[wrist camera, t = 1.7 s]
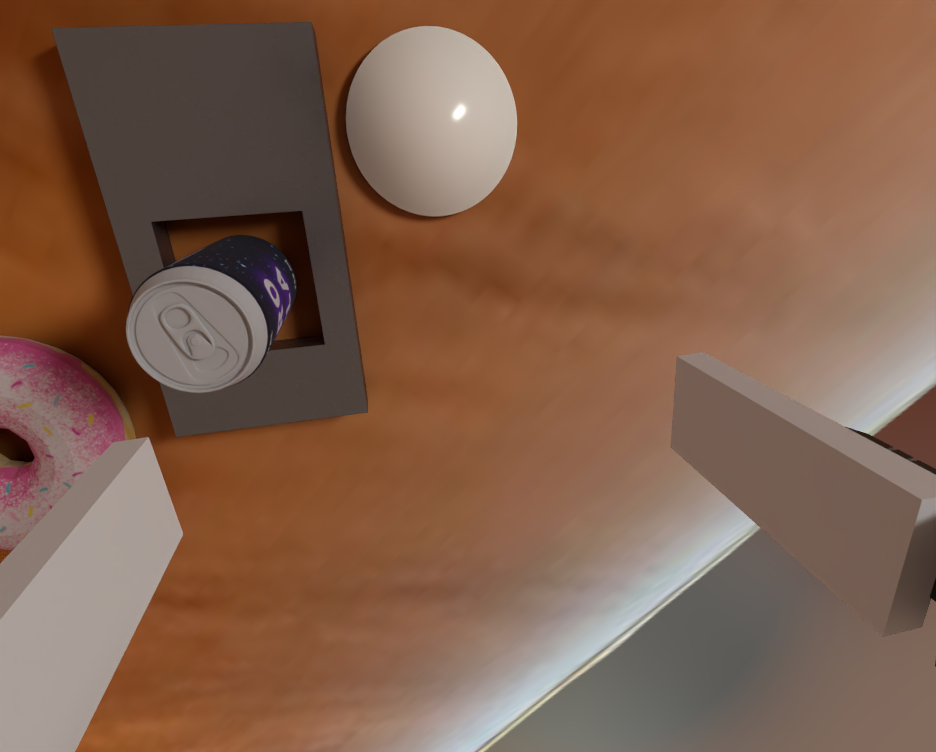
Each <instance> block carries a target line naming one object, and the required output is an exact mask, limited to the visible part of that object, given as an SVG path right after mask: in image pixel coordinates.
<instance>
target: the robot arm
mask: <svg viewBox="0 0 936 752" xmlns="http://www.w3.org/2000/svg"><path fill="white" fill-rule="evenodd" d="M671 448H672V449H673V450H674V451H675V452H677V453H678V454H679V455H680V456H681V457H682V458H683V459H684V460H686V461H687V462H688V463H689V464H690V465H691V466H692V467H693V468H694V469H696V470H697V471H698V472H699V473H700V474H701V475H702V476H703V477H705V478H706V479H707V480H708V481H709V482H710V483H711V484H712V485H713V486H715V487H716V488H717V489H718V490H719V491H720V492H721V493H722V494H724V495H725V496H726V497H727V498H728V499H729V500H730V501H731V502H733V503H734V504H735V505H736V506H737V507H738V508H739V509H740V510H741V511H743V512H744V513H745V514H746V515H747V516H748V517H749V518H750V519H752V520H753V521H754V522H755V523H756V524H757V525H758V526H759V527H760V528H762V529H763V530H764V531H765V532H766V533H767V534H768V535H769V536H771V537H772V538H773V539H774V540H775V541H776V542H777V543H778V544H779V545H781V546H782V547H783V548H784V549H785V550H786V551H787V552H789V553H790V554H791V555H792V556H793V557H794V558H795V559H796V560H797V561H799V562H800V563H801V564H802V565H803V566H804V567H805V568H806V569H807V570H809V571H810V572H811V573H812V574H813V575H814V576H815V577H816V578H818V579H819V580H820V581H821V582H822V583H823V584H824V585H825V586H826V587H828V588H829V589H830V590H831V591H832V592H833V593H835V594H836V595H837V596H838V597H839V598H840V599H841V600H842V601H843V602H844V603H846V604H847V605H848V606H849V607H850V608H851V609H852V610H853V611H854V612H856V613H857V614H858V615H859V616H860V617H861V618H862V619H863V620H865V621H866V622H867V623H868V624H869V625H870V626H871V627H873V628H874V629H875V630H876V631H877V632H878V633H879V634H880V635H881V636H882V637H884V636H888V635H892V634H896V633H900V632H904V631H908V630H912V629H916V628H920V627H922V625H923V622H924V619H925V616H926V613H927V610H928V607H929V604H930V600H931V598H932V599H933V600H934V601H936V469H935V468H932V467H931V466H929V465H927V464H925V463H923V462H921V461H919V460H917V461H914V459H913V457H911V456H910V455H907V454H906V453H904V452H902V451H900V450H894V449H893V447H892V446H890V445H888V444H886V443H884V442H883V441H880V440H879V439H877V438H875V437H873V436H871V435H869V434H866V433H863V432H860V431H857V430H854V429H851V428H847V427H844V426H842V425H840V424H839V423H837V422H835V421H833V420H831V419H829V418H827V417H825V416H823V415H821V414H820V413H818V412H816V411H814V410H812V409H810V408H808V407H806V406H804V405H803V404H801V403H799V402H797V401H795V400H793V399H791V398H789V397H787V396H785V395H784V394H782V393H780V392H778V391H776V390H774V389H772V388H770V387H768V386H767V385H765V384H763V383H761V382H759V381H757V380H755V379H753V378H751V377H750V376H748V375H746V374H744V373H742V372H740V371H738V370H736V369H734V368H732V367H731V366H729V365H727V364H725V363H723V362H721V361H719V360H717V359H715V358H714V357H712V356H710V355H708V354H706V353H704V352H701V353H695V354H688V355H682V356H677V362H676V377H675V391H674V406H673V420H672V435H671ZM182 536H183V532H182V529H181V527H180V524H179V521H178V518H177V515H176V512H175V510H174V507H173V504H172V501H171V498H170V496H169V493H168V490H167V487H166V484H165V482H164V479H163V476H162V473H161V470H160V468H159V465H158V462H157V459H156V456H155V454H154V451H153V448H152V445H151V442H150V439H149V437H145V438H139V439H132V440H125V441H119V442H113V443H112V444H111V445H110V446H109V447H108V448H107V449H106V450H105V451H104V452H103V454H102V455H101V456H100V457H99V458H98V459H97V460H96V461H95V462H94V463H93V464H92V465H91V466H90V468H89V469H88V470H87V471H86V472H85V473H84V474H83V475H82V476H81V477H80V478H79V479H78V480H77V482H76V483H75V484H74V485H73V486H72V487H71V488H70V489H69V490H68V491H67V492H66V493H65V494H64V496H63V497H62V498H61V499H60V500H59V501H58V502H57V503H56V504H55V505H54V506H53V507H52V509H51V510H50V511H49V512H48V513H47V514H46V515H45V516H44V517H43V518H42V519H41V520H40V521H39V523H38V524H37V525H36V526H35V527H34V528H33V529H32V530H31V531H30V532H29V533H28V534H27V535H26V537H25V538H24V539H23V540H22V541H21V542H20V543H19V544H18V545H17V546H16V547H15V548H14V549H13V551H12V552H11V553H10V554H9V555H8V556H7V557H6V558H5V559H4V560H3V561H2V562H1V563H0V752H75V751H76V749H77V747H78V745H79V743H80V741H81V739H82V737H83V735H84V733H85V731H86V729H87V727H88V725H89V723H90V721H91V719H92V717H93V715H94V713H95V711H96V709H97V707H98V705H99V703H100V701H101V699H102V697H103V695H104V692H105V690H106V688H107V686H108V684H109V682H110V680H111V678H112V676H113V674H114V672H115V670H116V668H117V666H118V664H119V662H120V660H121V658H122V656H123V654H124V652H125V650H126V648H127V646H128V644H129V642H130V640H131V638H132V636H133V634H134V632H135V630H136V628H137V626H138V624H139V622H140V620H141V618H142V616H143V614H144V612H145V610H146V608H147V606H148V604H149V602H150V600H151V598H152V596H153V594H154V592H155V590H156V588H157V586H158V584H159V582H160V580H161V578H162V576H163V574H164V572H165V570H166V568H167V566H168V564H169V562H170V560H171V558H172V556H173V554H174V552H175V550H176V548H177V546H178V544H179V542H180V540H181V538H182ZM935 666H936V664H935Z"/></svg>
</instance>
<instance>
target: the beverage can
mask: <svg viewBox="0 0 936 752" xmlns="http://www.w3.org/2000/svg"><path fill="white" fill-rule="evenodd" d="M296 294H297V281H296V276H295V273H294V270H293V268H292V265H291V264H290V262H289V260H288V259H287V258H286V256H285V255H284V254H283V253H282V252H281V251H280V250H279V249H278V248H276V247H275V246H274V245H272V244H271V243H269V242H267V241H265V240H263V239H260V238H257V237H253V236H247V235H236V236H230V237H226V238H223V239H221V240H219V241H217V242H215V243H213V244H211V245H209V246H207V247H205V248H203V249H201V250H199V251H197V252H195V253H193V254H191V255H189V256H187V257H185V258H183V259H181V260H179V261H177V262H175V263H173V264H171V265H169V266H167V267H165V268H163V269H161V270H159V271H157V272H155V273H153V274H152V275H150V276H149V277H148V278H147V279H145V280H144V281H143V282H142V283H141V285H140V286H139V287H138V288H137V290H136V291H135V293H134V295H133V297H132V300H131V302H130V306H129V311H128V316H127V321H126V337H127V342H128V345H129V348H130V350H131V353H132V355H133V357H134V358H135V360H136V361H137V363H138V364H139V365H140V366H141V367H142V369H143V370H144V371H145V372H146V373H148V374H149V375H150V376H151V377H152V378H154V379H155V380H157V381H158V382H160V383H162V384H164V385H166V386H168V387H170V388H173V389H176V390H180V391H185V392H191V393H205V392H212V391H217V390H220V389H223V388H227V387H230V386H233V385H236V384H238V383H240V382H242V381H244V380H245V379H247V378H248V377H250V376H251V375H252V374H253V373H254V372H255V371H256V370H257V369H258V368H259V366H260V365H261V364H262V362H263V360H264V359H265V357H266V355H267V353H268V351H269V349H270V347H271V346H272V344H273V342H274V340H275V338H276V336H277V334H278V332H279V330H280V329H281V327H282V325H283V323H284V321H285V319H286V317H287V315H288V314H289V312H290V310H291V308H292V306H293V304H294V301H295V298H296Z"/></svg>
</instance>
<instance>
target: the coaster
mask: <svg viewBox="0 0 936 752" xmlns="http://www.w3.org/2000/svg"><path fill="white" fill-rule="evenodd" d="M346 129H347V136H348V141H349V145H350V148H351V152H352V155H353V157H354V159H355V162H356V164H357V166H358V168H359V170H360V171H361V173H362V175H363V176H364V178H365V179H366V180H367V182H368V183H369V184H370V185H371V187H372V188H373V189H374V190H375V191H376V192H377V193H378V194H379V195H380V196H382V197H383V198H384V199H386V200H387V201H388V202H390V203H391V204H393V205H395V206H397V207H398V208H400V209H403V210H405V211H408V212H410V213H414V214H418V215H424V216H445V215H452V214H455V213H458V212H462V211H464V210H466V209H468V208H471V207H472V206H474V205H475V204H477V203H479V202H480V201H481V200H483V199H484V198H485V197H486V196H487V195H488V194H489V193H490V192H491V191H492V190H493V189H494V188H495V187H496V186H497V184H498V183H499V182H500V180H501V179H502V177H503V175H504V174H505V172H506V170H507V168H508V166H509V163H510V161H511V158H512V155H513V151H514V148H515V142H516V136H517V115H516V107H515V102H514V97H513V94H512V91H511V88H510V85H509V83H508V81H507V79H506V77H505V75H504V73H503V71H502V70H501V68H500V66H499V65H498V63H497V62H496V61H495V60H494V58H493V57H492V56H491V55H490V54H489V53H488V52H487V51H486V50H485V49H484V48H483V47H482V46H481V45H479V44H478V43H477V42H475V41H474V40H473V39H471V38H469V37H467V36H466V35H464V34H462V33H459V32H457V31H454V30H451V29H447V28H443V27H436V26H421V27H413V28H410V29H406V30H402V31H400V32H398V33H396V34H393V35H391V36H390V37H388V38H387V39H385V40H384V41H382V42H381V43H380V44H378V45H377V46H376V47H375V48H374V49H373V50H372V51H371V52H370V53H369V54H368V56H367V57H366V58H365V59H364V61H363V62H362V64H361V65H360V67H359V68H358V70H357V72H356V75H355V77H354V79H353V81H352V84H351V87H350V91H349V94H348V100H347V106H346Z"/></svg>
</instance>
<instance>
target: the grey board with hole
mask: <svg viewBox="0 0 936 752" xmlns="http://www.w3.org/2000/svg"><path fill="white" fill-rule="evenodd" d="M51 29H52V32H53V35H54V39H55V42H56V45H57V49H58V52H59V55H60V58H61V62H62V65H63V68H64V71H65V75H66V78H67V81H68V85H69V88H70V91H71V94H72V98H73V101H74V104H75V107H76V111H77V114H78V117H79V121H80V124H81V127H82V130H83V134H84V137H85V140H86V143H87V147H88V150H89V153H90V157H91V160H92V163H93V166H94V170H95V173H96V176H97V180H98V183H99V186H100V189H101V193H102V196H103V199H104V202H105V206H106V209H107V212H108V216H109V219H110V222H111V225H112V229H113V232H114V235H115V238H116V242H117V245H118V248H119V252H120V255H121V258H122V261H123V265H124V268H125V271H126V274H127V278H128V281H129V284H130V288H131V291H132V294H133V295H134V293H135V291H136V290H137V288H138V287H139V286H140V285H141V283H142V282H143V281H144V280H145V279H147V278H148V277H149V276H150V275H152V274H153V273H155V272H157V271H159V270H161V269H163V268H165V267H167V266H169V265H171V264H173V263H175V262H176V261H175V258H174V254H173V250H172V247H171V243H170V239H169V235H168V232H167V228H166V224H165V221H168V220H182V219H196V218H209V217H223V216H237V215H251V214H264V213H278V212H292V211H302V212H303V218H304V224H305V230H306V236H307V242H308V248H309V254H310V259H311V265H312V271H313V277H314V283H315V289H316V295H317V301H318V306H319V312H320V318H321V324H322V330H323V336H315V337H306V338H296V339H287V340H278V341H274V342H273V344H272V346H271V347H270V349H269V351H268V353H267V355H266V357H265V359H264V360H263V362H262V364H261V365H260V366H259V368H258V369H257V370H256V371H255V372H254V373H253V374H252V375H251V376H250V377H248V378H247V379H245V380H244V381H242V382H240V383H238V384H236V385H233V386H230V387H227V388H223V389H220V390H217V391H212V392H205V393H191V392H185V391H180V390H176V389H173V388H170V387H168V386H166V385H164V384H162V383H160V382H159V383H160V386H161V389H162V392H163V396H164V399H165V402H166V405H167V409H168V412H169V415H170V419H171V422H172V425H173V428H174V432H175V435H176V437H180V436H188V435H196V434H204V433H212V432H219V431H227V430H235V429H243V428H251V427H258V426H266V425H274V424H282V423H290V422H297V421H305V420H313V419H321V418H329V417H336V416H344V415H352V414H360V413H368V398H367V391H366V384H365V377H364V370H363V364H362V357H361V350H360V343H359V336H358V329H357V322H356V315H355V308H354V301H353V294H352V287H351V280H350V273H349V266H348V259H347V252H346V245H345V238H344V231H343V224H342V217H341V210H340V203H339V196H338V189H337V182H336V175H335V168H334V161H333V154H332V147H331V140H330V133H329V126H328V120H327V113H326V106H325V99H324V92H323V85H322V78H321V71H320V64H319V57H318V50H317V43H316V36H315V30H314V28H313V25H312V23H311V22H294V23H251V24H208V25H164V26H121V27H77V28H51Z"/></svg>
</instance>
